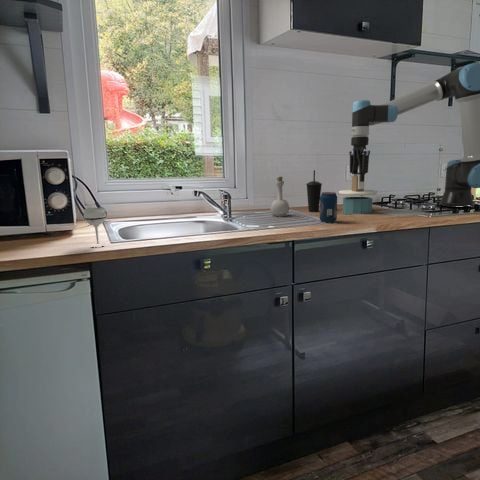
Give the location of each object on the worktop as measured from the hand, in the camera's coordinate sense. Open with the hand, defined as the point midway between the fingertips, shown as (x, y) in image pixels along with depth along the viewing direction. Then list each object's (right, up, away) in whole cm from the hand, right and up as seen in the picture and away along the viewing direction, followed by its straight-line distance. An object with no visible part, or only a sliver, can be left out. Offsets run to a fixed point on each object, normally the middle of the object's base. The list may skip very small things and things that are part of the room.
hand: (357, 188), depth 180 cm
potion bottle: (-36, -13, 0) cm, 38 cm away
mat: (+19, -12, -3) cm, 23 cm away
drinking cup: (-19, -10, +11) cm, 24 cm away
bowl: (0, -11, +2) cm, 12 cm away
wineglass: (-101, -26, -55) cm, 118 cm away
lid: (0, -2, 0) cm, 3 cm away
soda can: (-18, -17, -20) cm, 32 cm away
